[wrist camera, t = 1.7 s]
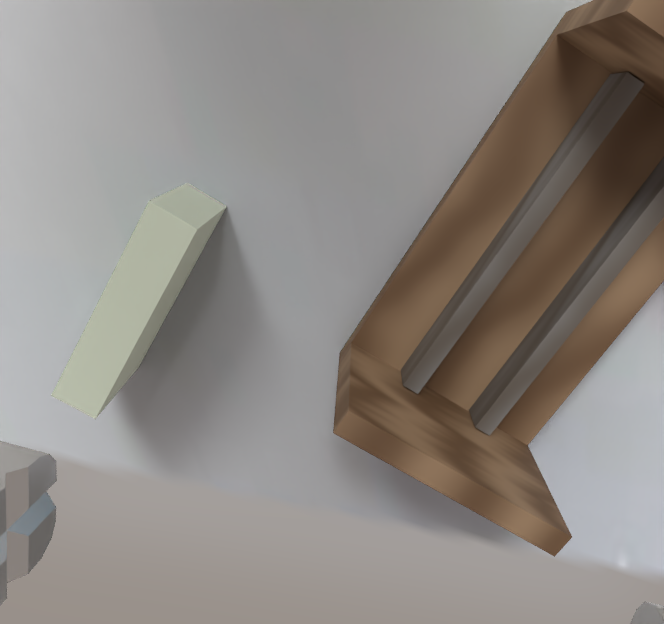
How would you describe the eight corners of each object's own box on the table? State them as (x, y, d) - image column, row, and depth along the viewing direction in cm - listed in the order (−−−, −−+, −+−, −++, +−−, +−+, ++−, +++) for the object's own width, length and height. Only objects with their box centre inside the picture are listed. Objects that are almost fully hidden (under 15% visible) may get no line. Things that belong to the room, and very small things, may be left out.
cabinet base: (339, 352, 45) (333, 432, 34) (566, 12, 37) (651, -26, 26) (509, 450, 47) (554, 556, 36) (757, 146, 39) (911, 164, 28)
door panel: (102, 347, 46) (51, 395, 38) (187, 182, 41) (149, 200, 34) (139, 366, 46) (95, 419, 38) (227, 206, 42) (197, 228, 34)
